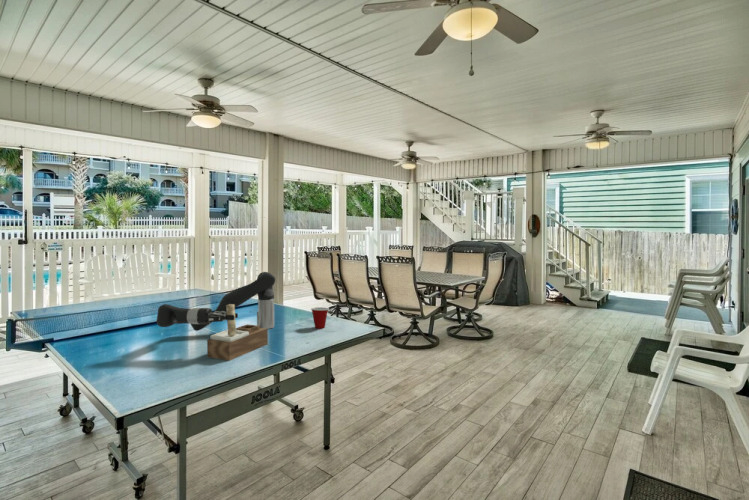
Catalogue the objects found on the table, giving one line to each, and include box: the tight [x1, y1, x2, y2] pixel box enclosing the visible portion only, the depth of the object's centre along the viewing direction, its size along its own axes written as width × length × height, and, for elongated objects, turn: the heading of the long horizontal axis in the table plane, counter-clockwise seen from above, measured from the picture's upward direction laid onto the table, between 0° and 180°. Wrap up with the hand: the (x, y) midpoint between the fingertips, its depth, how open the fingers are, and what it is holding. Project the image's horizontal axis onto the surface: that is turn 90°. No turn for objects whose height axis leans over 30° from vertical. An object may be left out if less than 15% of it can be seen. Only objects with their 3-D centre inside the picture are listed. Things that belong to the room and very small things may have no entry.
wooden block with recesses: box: [206, 323, 269, 361], centre depth 188 cm, size 13×27×10 cm, turn 158°
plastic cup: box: [310, 306, 330, 330], centre depth 232 cm, size 11×11×12 cm
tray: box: [210, 329, 249, 342], centre depth 182 cm, size 12×12×2 cm
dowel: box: [226, 304, 237, 335], centre depth 182 cm, size 4×4×14 cm
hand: (235, 316), depth 182 cm, fingers closed on dowel, 3 cm apart
